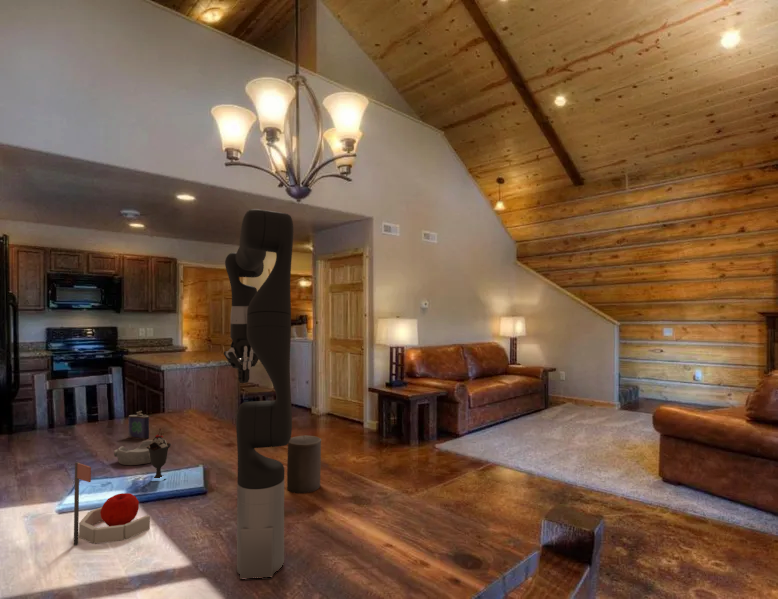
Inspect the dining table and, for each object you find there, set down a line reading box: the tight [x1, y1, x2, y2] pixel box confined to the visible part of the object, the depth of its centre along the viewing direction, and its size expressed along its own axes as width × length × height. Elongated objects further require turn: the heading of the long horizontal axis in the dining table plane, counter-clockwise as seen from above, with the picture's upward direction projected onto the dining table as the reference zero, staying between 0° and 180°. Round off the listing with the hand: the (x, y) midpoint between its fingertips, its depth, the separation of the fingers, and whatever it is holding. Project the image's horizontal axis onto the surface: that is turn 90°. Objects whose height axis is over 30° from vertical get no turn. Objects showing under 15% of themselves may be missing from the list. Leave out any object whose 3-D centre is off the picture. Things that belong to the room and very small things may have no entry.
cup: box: [73, 461, 151, 546], centre depth 104 cm, size 13×15×18 cm
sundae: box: [147, 427, 172, 478], centre depth 136 cm, size 7×7×15 cm
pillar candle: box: [286, 434, 322, 494], centre depth 131 cm, size 10×10×15 cm
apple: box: [100, 492, 140, 527], centre depth 107 cm, size 8×8×7 cm
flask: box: [127, 410, 150, 440], centre depth 180 cm, size 9×3×11 cm, turn 76°
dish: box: [113, 439, 153, 466], centre depth 154 cm, size 14×14×5 cm
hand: (243, 382), depth 128 cm, fingers closed
